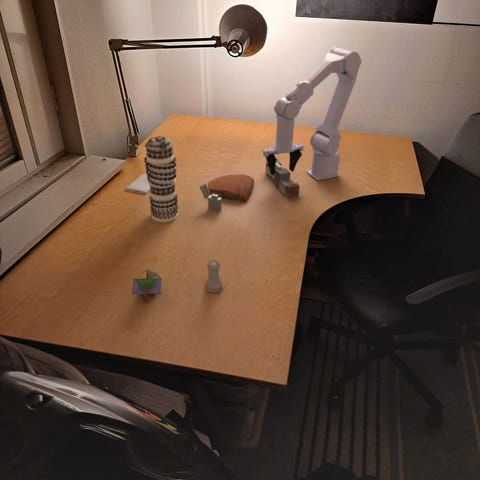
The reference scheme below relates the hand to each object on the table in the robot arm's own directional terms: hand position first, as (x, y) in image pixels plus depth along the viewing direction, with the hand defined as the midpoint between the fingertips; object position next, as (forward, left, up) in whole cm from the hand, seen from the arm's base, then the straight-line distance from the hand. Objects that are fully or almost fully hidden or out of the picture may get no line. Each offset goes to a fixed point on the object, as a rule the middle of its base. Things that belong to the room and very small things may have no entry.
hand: (281, 172), depth 158 cm
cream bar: (0, -6, -5) cm, 8 cm away
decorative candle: (+44, +6, -5) cm, 45 cm away
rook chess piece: (+42, +45, -5) cm, 62 cm away
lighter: (+29, +7, -5) cm, 30 cm away
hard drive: (+45, -17, -6) cm, 49 cm away
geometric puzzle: (+58, +42, -5) cm, 72 cm away
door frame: (0, -2, -5) cm, 6 cm away
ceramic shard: (+19, -3, -6) cm, 19 cm away
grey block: (0, +1, -4) cm, 4 cm away
